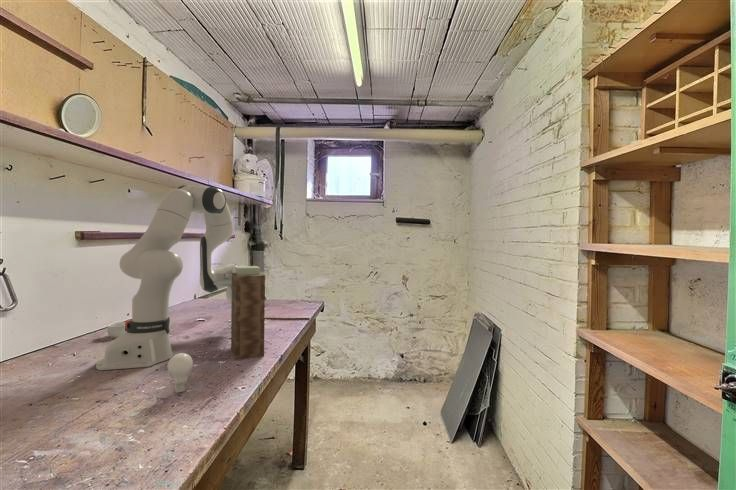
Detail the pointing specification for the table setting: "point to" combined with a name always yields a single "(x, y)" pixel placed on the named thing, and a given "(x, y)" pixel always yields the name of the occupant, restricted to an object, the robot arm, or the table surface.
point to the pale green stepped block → (247, 270)
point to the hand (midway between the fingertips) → (242, 271)
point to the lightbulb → (180, 370)
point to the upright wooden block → (247, 315)
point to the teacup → (116, 329)
